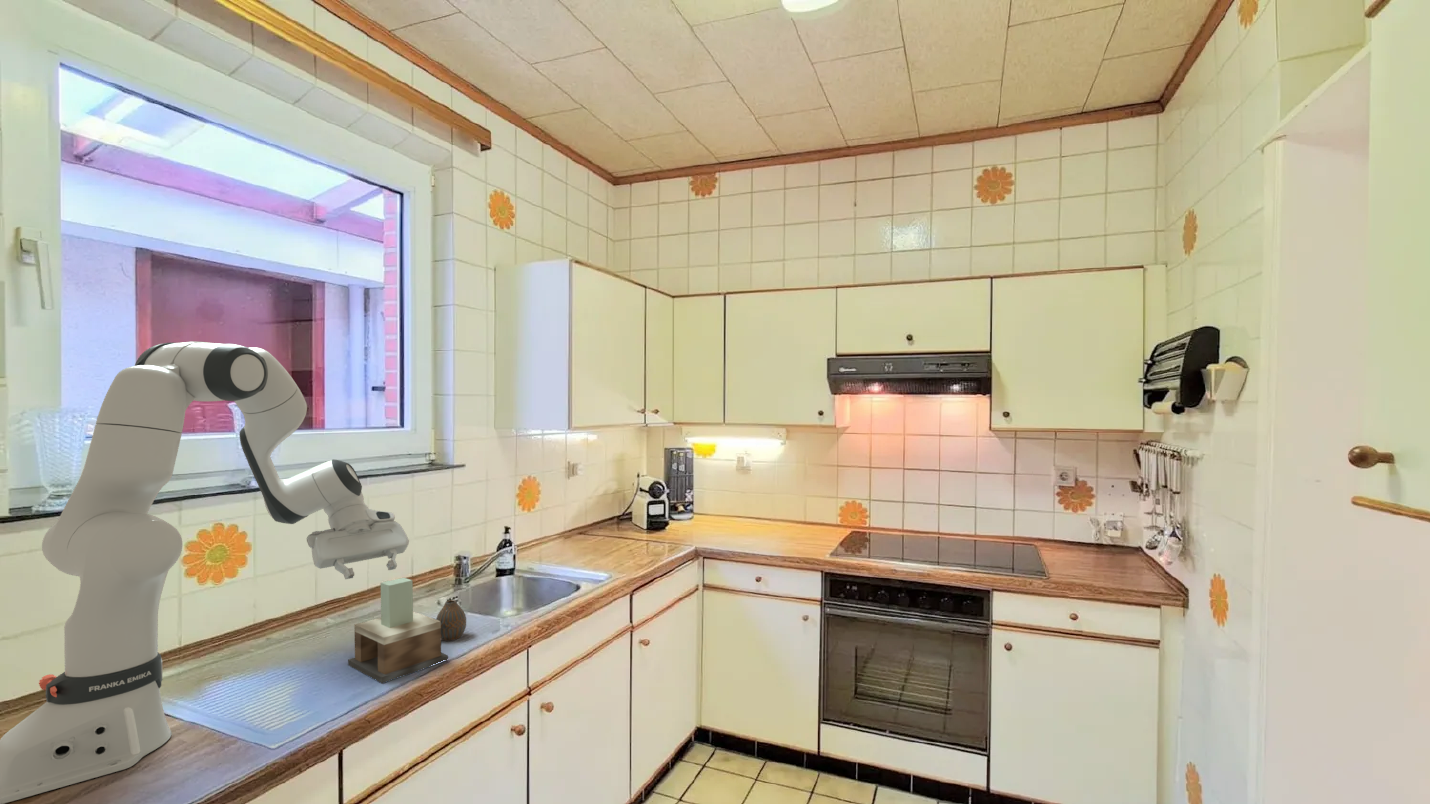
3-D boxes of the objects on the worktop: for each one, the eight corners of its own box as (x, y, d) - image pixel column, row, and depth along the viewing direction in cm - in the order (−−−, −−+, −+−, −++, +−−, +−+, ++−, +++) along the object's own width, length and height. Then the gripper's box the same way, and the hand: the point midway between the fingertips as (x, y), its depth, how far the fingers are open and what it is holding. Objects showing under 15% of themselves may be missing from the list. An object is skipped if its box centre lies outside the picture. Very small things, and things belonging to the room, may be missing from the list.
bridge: (381, 683, 126) (381, 640, 127) (348, 665, 136) (347, 624, 136) (447, 660, 137) (447, 620, 138) (412, 645, 147) (411, 608, 147)
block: (389, 628, 134) (389, 585, 134) (381, 624, 136) (380, 582, 136) (413, 621, 138) (412, 580, 138) (404, 618, 140) (403, 577, 140)
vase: (457, 630, 157) (456, 595, 157) (472, 636, 152) (471, 600, 152) (430, 639, 151) (429, 602, 151) (444, 645, 147) (444, 607, 147)
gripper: (308, 524, 141) (326, 574, 135) (399, 511, 157) (419, 555, 151) (300, 542, 144) (318, 591, 138) (391, 527, 160) (411, 571, 154)
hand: (372, 572), depth 145 cm, fingers open, 8 cm apart
